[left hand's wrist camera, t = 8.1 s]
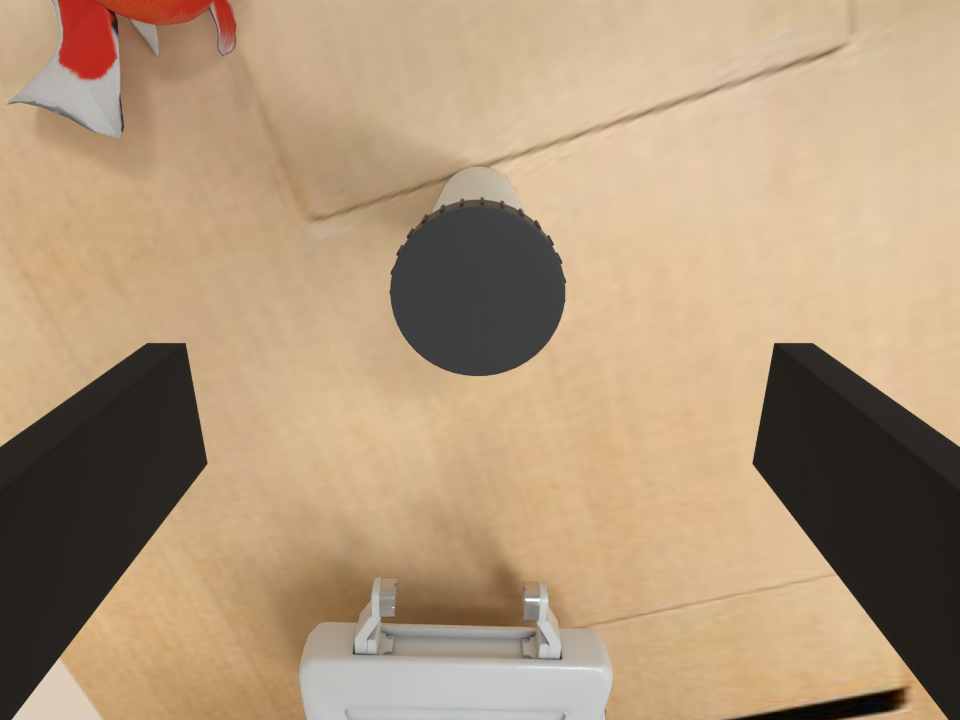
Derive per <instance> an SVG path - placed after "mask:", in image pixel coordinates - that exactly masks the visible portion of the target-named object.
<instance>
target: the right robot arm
mask: <svg viewBox="0 0 960 720" xmlns="http://www.w3.org/2000/svg"><path fill="white" fill-rule="evenodd" d="M397 586H398V578H379V577H375V578H374V582H373V587H372V595H371V600H370V602H369V603H368V604H367V606H366V607H365V608H364V610H363V611H362V612H361V614H360V616H359V620H358V623H355V622H321V623H320V624H318V625H317V626H316V627H315V628H314V629H313V630H312V632H311V633H310V634H309V636H308V638H307V641H306V643H305V646H304V649H303V653H302V657H301V661H300V666H299V684H300V692H301V698H302V703H303V708H304V713H305V716H306V720H605V715H606V709H605V707H606V704H607V702H608V698H609V695H610V691H611V687H612V682H613V670H612V664H611V659H610V655H609V651H608V648H607V645H606V643H605V641H604V639H603V638H602V637H601V636H600V635H599V633H598V632H597V631H595V630H593V629H584V628H559V626H558V620H557V618H556V617H555V615H554V614H553V612H552V611H551V609H550V607H549V606H548V592H547V586H546V582H523V586H522V587H523V592H522V599H521V601H522V608H523V620H525V621H536V627H507V626H469V625H431V624H393V623H381V618H382V617H395V612H396V604H397V599H398V588H397Z"/></svg>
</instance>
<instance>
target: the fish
mask: <svg viewBox="0 0 960 720" xmlns="http://www.w3.org/2000/svg"><path fill="white" fill-rule="evenodd" d="M52 1H53V3H54V6H55V8H56V13H57V18H58V23H59V42H58V46H57V49H56V52H55V54H54V56H53V57H52V59H51V60H50V61H49V62H48V63H47V64H46V65H45V66H44V67H43V68H42V69H41V70H40V71H39V72H38V73H37V74H36V75H35V77H34V78H33V79H32V80H31V81H30V82H29V83H28V84H27V85H26V86H25V87H24V88H23V89H22V90H21V91H20V92H19V93H18V94H17V95H16V96H15V97H14V98H13V99H12V100H11V101H9V102H8V103H7V104H13V103H19V102H21V103H26V104H30V105H35V106H39V107H43V108H45V109H48V110H50V111H53V112H55V113H58V114H60V115H63V116H66V117H68V118H70V119H72V120H73V121H75V122H77V123H79V124H80V125H82V126H84V127H86V128H87V129H89V130H91V131H93V132H96V133H100V134H103V135H107V136H110V137H114V138H118V139H120V138H121V135H122V132H123V128H124V123H123V115H122V107H121V99H120V62H119V42H118V23H117V18H116V15H115V13H118V14H120V15H122V16H125V17H127V18H129V20H130V21H131V23H132V24H133V26H134V27H135V28H136V29H137V31H138V32H139V33H140V34H141V36H142V37H143V38H144V40H145V41H146V42H147V44H148V45H149V47H150V48H151V50H152V51H153V53H154V54H155V55H156V56H159V44H158V34H157V30H156V26H155V25H170V24H177V23H183V22H188V21H190V20H192V19H194V18H196V17H197V16H199V15H200V14H202V13H203V12H204V11H206V10H207V9H208V8H209V9H210V10H211V13H212V16H213V18H214V21H215V23H216V26H217V31H218V50H219V52H220V53H221V54H222V55H223V56H224V55H226V54H228V53H231V51H232V50H233V49H234V48H235V43H236V35H235V33H236V21H235V18H234V14H233V11H232V7H231V5H230V3H229V0H52ZM114 12H115V13H114Z"/></svg>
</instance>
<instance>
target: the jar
mask: <svg viewBox="0 0 960 720" xmlns="http://www.w3.org/2000/svg"><path fill="white" fill-rule="evenodd" d="M481 197H484V200H491V201H496V202H501V200H502V201H504V203H505V204H506V205H509V206H511V207H514V208H516V209H517V210H519V208H521V209H522V210H523V212H524V214H525V215H526V213H525V211H524V208H523V206H522V204H521V201H520V199H519V197H518V194H517V192H516V190H515V188H514V186H513V184H512V183H511V182H510V181H509V179H508V178H507V177H506V176H504V175H503V174H502V173H500V172H498V171H496V170H494V169H492V168H488V167H481V166H479V167H470V168H467V169H464V170H462V171H459V172H458V173H456V174H455V175H454V176H453V177H451V178H450V179H449V181H448V182H447V183H446V185H445V186H444V188H443V190H442V192H441V194H440V196H439V198H438V200H437V203H436V205H435V207H434V209H433V211H432V213H433V212H435V211H437V210H438V209H440V207H441V205H443V204H444V205H445V206H447V205H449V204H453V203H456V202H459V201H460V199H463V198H464V201H465V200H479V199H481ZM432 213H431V214H432Z"/></svg>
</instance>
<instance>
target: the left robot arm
mask: <svg viewBox="0 0 960 720" xmlns="http://www.w3.org/2000/svg"><path fill="white" fill-rule="evenodd" d="M206 465H207V458H206V453H205V447H204V442H203V436H202V431H201V425H200V420H199V414H198V409H197V403H196V398H195V392H194V387H193V381H192V376H191V370H190V365H189V359H188V354H187V348H186V343H147V344H145V345H144V346H142V347H141V348H140V349H138V350H137V351H135V352H134V353H133V354H131V355H130V356H128V357H127V358H125V359H124V360H123V361H121V362H120V363H118V364H117V365H116V366H114V367H113V368H111V369H110V370H109V371H107V372H106V373H104V374H103V375H101V376H100V377H99V378H97V379H96V380H94V381H93V382H92V383H90V384H89V385H87V386H86V387H84V388H83V389H82V390H80V391H79V392H77V393H76V394H75V395H73V396H72V397H70V398H69V399H67V400H66V401H65V402H63V403H62V404H60V405H59V406H58V407H56V408H55V409H53V410H52V411H51V412H49V413H48V414H46V415H45V416H43V417H42V418H41V419H39V420H38V421H36V422H35V423H34V424H32V425H31V426H29V427H28V428H26V429H25V430H24V431H22V432H21V433H19V434H18V435H17V436H15V437H14V438H12V439H11V440H9V441H8V442H7V443H5V444H4V445H2V446H1V447H0V720H12V718H13V717H14V716H15V714H16V713H17V712H18V711H19V709H20V708H21V707H22V705H23V704H24V703H25V701H26V700H27V699H28V697H29V696H30V695H31V694H32V692H33V691H34V690H35V688H36V687H37V686H38V684H39V683H40V682H41V680H42V679H43V678H44V677H45V675H46V674H47V673H48V671H49V670H50V669H51V667H52V666H53V665H54V664H55V662H56V661H57V660H58V658H59V657H60V656H61V654H62V653H63V652H64V651H65V649H66V648H67V647H68V645H69V644H70V643H71V641H72V640H73V639H74V637H75V636H76V635H77V634H78V632H79V631H80V630H81V628H82V627H83V626H84V624H85V623H86V622H87V620H88V619H89V618H90V617H91V615H92V614H93V613H94V611H95V610H96V609H97V607H98V606H99V605H100V603H101V602H102V601H103V600H104V598H105V597H106V596H107V594H108V593H109V592H110V590H111V589H112V588H113V587H114V585H115V584H116V583H117V581H118V580H119V579H120V577H121V576H122V575H123V573H124V572H125V571H126V570H127V568H128V567H129V566H130V564H131V563H132V562H133V560H134V559H135V558H136V556H137V555H138V554H139V553H140V551H141V550H142V549H143V547H144V546H145V545H146V543H147V542H148V541H149V540H150V538H151V537H152V536H153V534H154V533H155V532H156V530H157V529H158V528H159V526H160V525H161V524H162V523H163V521H164V520H165V519H166V517H167V516H168V515H169V513H170V512H171V511H172V509H173V508H174V507H175V506H176V504H177V503H178V502H179V500H180V499H181V498H182V496H183V495H184V494H185V492H186V491H187V490H188V489H189V487H190V486H191V485H192V483H193V482H194V481H195V479H196V478H197V477H198V476H199V474H200V473H201V472H202V470H203V469H204V468H205V466H206ZM753 465H754V466H755V468H756V469H757V470H758V472H759V473H760V474H761V476H762V477H763V478H764V479H765V481H766V482H767V483H768V485H769V486H770V487H771V489H772V490H773V491H774V493H775V494H776V495H777V496H778V498H779V499H780V500H781V502H782V503H783V504H784V506H785V507H786V508H787V509H788V511H789V512H790V513H791V515H792V516H793V517H794V519H795V520H796V521H797V523H798V524H799V525H800V526H801V528H802V529H803V530H804V532H805V533H806V534H807V536H808V537H809V538H810V540H811V541H812V542H813V543H814V545H815V546H816V547H817V549H818V550H819V551H820V553H821V554H822V555H823V556H824V558H825V559H826V560H827V562H828V563H829V564H830V566H831V567H832V568H833V570H834V571H835V572H836V573H837V575H838V576H839V577H840V579H841V580H842V581H843V583H844V584H845V585H846V587H847V588H848V589H849V590H850V592H851V593H852V594H853V596H854V597H855V598H856V600H857V601H858V602H859V604H860V605H861V606H862V607H863V609H864V610H865V611H866V613H867V614H868V615H869V617H870V618H871V619H872V620H873V622H874V623H875V624H876V626H877V627H878V628H879V630H880V631H881V632H882V634H883V635H884V636H885V637H886V639H887V640H888V641H889V643H890V644H891V645H892V647H893V648H894V649H895V651H896V652H897V653H898V654H899V656H900V657H901V658H902V660H903V661H904V662H905V664H906V665H907V666H908V667H909V669H910V670H911V671H912V673H913V674H914V675H915V677H916V678H917V679H918V681H919V682H920V683H921V684H922V686H923V687H924V688H925V690H926V691H927V692H928V694H929V695H930V696H931V698H932V699H933V700H934V701H935V703H936V704H937V705H938V707H939V708H940V709H941V711H942V712H943V713H944V715H945V716H946V717H947V718H948V720H960V447H959V446H958V445H956V444H955V443H953V442H952V441H951V440H949V439H948V438H946V437H945V436H943V435H942V434H941V433H939V432H938V431H936V430H935V429H934V428H932V427H931V426H929V425H928V424H926V423H925V422H924V421H922V420H921V419H919V418H918V417H917V416H915V415H914V414H912V413H911V412H909V411H908V410H907V409H905V408H904V407H902V406H901V405H900V404H898V403H897V402H895V401H894V400H893V399H891V398H890V397H888V396H887V395H885V394H884V393H883V392H881V391H880V390H878V389H877V388H876V387H874V386H873V385H871V384H870V383H868V382H867V381H866V380H864V379H863V378H861V377H860V376H859V375H857V374H856V373H854V372H853V371H851V370H850V369H849V368H847V367H846V366H844V365H843V364H842V363H840V362H839V361H837V360H836V359H835V358H833V357H832V356H830V355H829V354H827V353H826V352H825V351H823V350H822V349H820V348H819V347H818V346H816V345H815V344H813V343H774V348H773V354H772V359H771V365H770V370H769V376H768V381H767V387H766V392H765V398H764V403H763V409H762V414H761V420H760V425H759V431H758V436H757V442H756V447H755V453H754V458H753Z"/></svg>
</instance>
